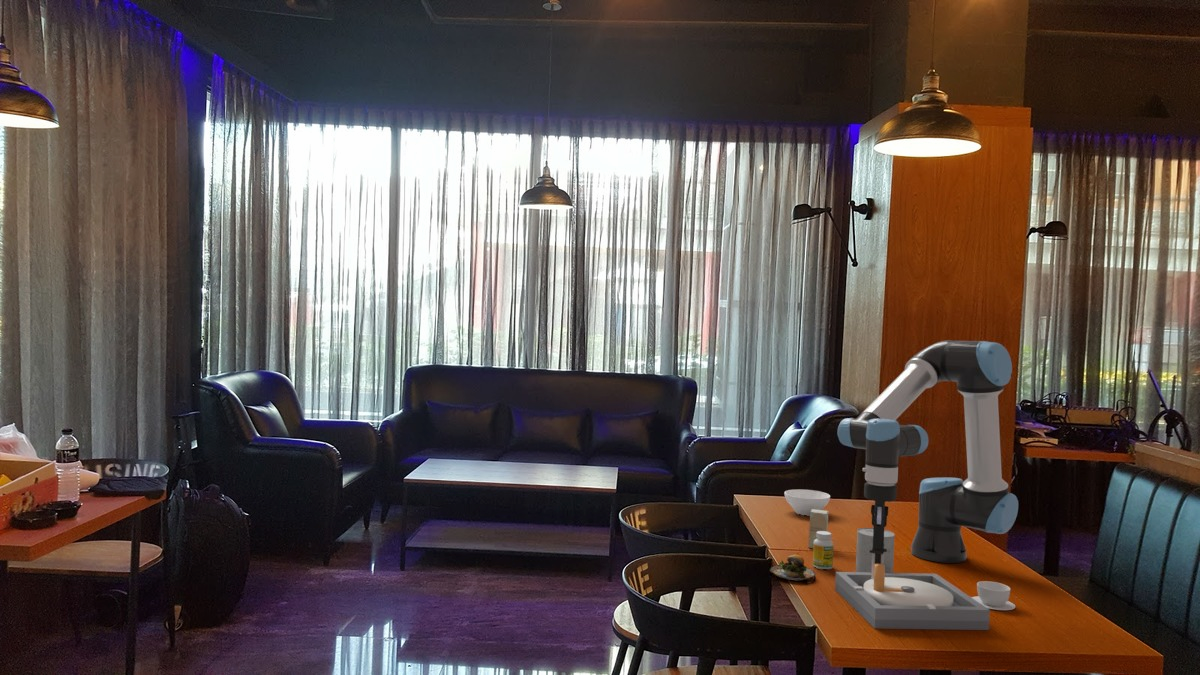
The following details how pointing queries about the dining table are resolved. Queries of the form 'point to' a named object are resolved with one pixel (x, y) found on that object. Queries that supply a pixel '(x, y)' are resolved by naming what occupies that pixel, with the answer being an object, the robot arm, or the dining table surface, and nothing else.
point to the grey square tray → (954, 617)
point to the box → (817, 524)
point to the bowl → (806, 500)
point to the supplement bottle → (823, 550)
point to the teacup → (994, 595)
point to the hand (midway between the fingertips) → (877, 579)
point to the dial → (905, 591)
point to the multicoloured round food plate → (793, 569)
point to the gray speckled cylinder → (867, 544)
